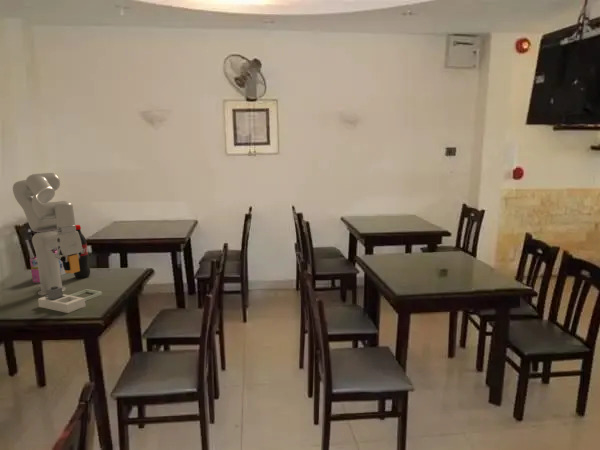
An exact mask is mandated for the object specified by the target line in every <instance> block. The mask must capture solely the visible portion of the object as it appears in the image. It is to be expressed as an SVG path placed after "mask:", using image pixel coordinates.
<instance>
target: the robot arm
mask: <svg viewBox="0 0 600 450" xmlns="http://www.w3.org/2000/svg"><path fill="white" fill-rule="evenodd" d="M60 186H61V181H60V178H59V177H58V175H57V174H56V173H54V172H43V173H32V174H30V175H28V176H27V177H26V179H23V180H18V181H16V182H15V183H13V186H12V192H13V195H14V199H15V201H16V202H17V203H18V204H19V206H20V207H21V208H22V209H23V212H24V215H25V218H26V220H27V222H28V223H27V224H28V225H29V227H30V230H31V231H33V232H35V234H34V235H33V236H32V238H31V243H32V246H33V249H34V251H35V255H36V256H35V257H37V263H38V269H39V277H40V282H39V283H40V284H38V285H37V286H38V288H40V290H39V291H38V292H37V294H38V296H40V297H43V296H46V295H48V294H47V289H50V288H51V287H54V286H57V287H60V288H62V292H64V291H65V290H66V289H67V288H66V286H63V281H62V275H61V273H60V265H59V259H60V260H61V261H62V262H63V265H64V270H70V264H69V262H68V255H72V254H78V259H79V258H80V255H81V253H82V252H83V251H84V249H83V248H82V243H81V239H80V236H79V233H78V231H76V226H75V225H76V222H75V220H76V219H75V212H74V205H73V203H72V202H68V201H67V200H60V201H59V200H58V201H52V200H53V199H54V197H55V196H56V191H58V189H59V188H60ZM53 250H57V254H55V253H53V252H52V251H53ZM60 255H62V257H61V256H60ZM79 267H80V266H79Z"/></svg>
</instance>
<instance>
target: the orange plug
mask: <svg viewBox="0 0 600 450" xmlns="http://www.w3.org/2000/svg"><path fill="white" fill-rule="evenodd" d="M68 262H69V264H70V270H65V273H66V274H74V273H75V272H79V271H80V267H79V259H78V254H72V255H68Z"/></svg>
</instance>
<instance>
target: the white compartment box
mask: <svg viewBox="0 0 600 450" xmlns="http://www.w3.org/2000/svg"><path fill="white" fill-rule="evenodd" d="M70 295H71V294H64V293H63V298H60V299H57V300H54V301H53V300H48V294H45V295H44V296H41V297H40V298H37V302H38V307H39V308H41V309H42V308H44V309H47V310H53V311H57V312H62V313H66V314H70V313H73V312H75V311H76V310H80V309H82V308H85V307H86V306H87V305H86V301H85V297H81V296H70Z"/></svg>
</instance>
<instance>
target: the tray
mask: <svg viewBox="0 0 600 450" xmlns="http://www.w3.org/2000/svg"><path fill="white" fill-rule="evenodd" d="M85 293H89V294H92V295H88V296H85V297H84V298H85V302H86V301H89V300H92V299H95V298H98V297H100V296H102V295H103V291H100V290H95V289H94V290H93V289H89V288H86V289H85V288H84V289H83V290H80V291H76V292H74V293H71V294H69V295H70V296H76V297H79V296H80V295H82V294H85Z"/></svg>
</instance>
